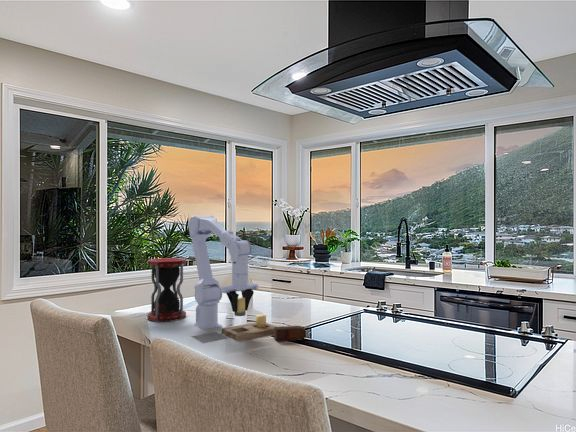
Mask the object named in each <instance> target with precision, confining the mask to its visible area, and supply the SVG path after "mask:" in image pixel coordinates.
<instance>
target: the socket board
mask: <svg viewBox="0 0 576 432" xmlns="http://www.w3.org/2000/svg"><path fill="white" fill-rule="evenodd" d="M275 327H278V326H276V325H274V324H271V323H269V322H266V328H260V329H258V328H256V321H255V322H251V323H244V324H238V325H232V326H228V327H222V328H221V334H222V335H224V336H226V337H228V338H231V339H233V340H235V341H238V342H239V341H243V340H249V339H254V338H258V337H264V336H269V335H273V336H274V328H275Z"/></svg>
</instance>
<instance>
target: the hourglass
mask: <svg viewBox="0 0 576 432" xmlns="http://www.w3.org/2000/svg"><path fill="white" fill-rule="evenodd" d="M185 264H187V259H186V258H183V257H182V258H180V257H163V258H161V257H160V258H149V259H147V265H150V266H151V282H152V284H153V286H154V289H153V292H152V293H151V297H150V298H151V300H150V305H151V306H150V307H151V309H150V310H151V311H150V312H149V313H147V315H146V319H147V320H148V321H152V322H156V323H157V322H172V321H173V322H174V321H179V320H180V321H181V320H182V319H184V318H186V317H187V311H185V310H184V297H183V294H182V293H181V285H182V284H183V282H184V265H185ZM178 279H179V280H180V281H179V282H178V284H177V281H178ZM162 287H163V289H162ZM171 287H172V290H171ZM156 293H157V294H156ZM155 295H156V297H155Z"/></svg>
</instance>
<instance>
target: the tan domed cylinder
mask: <svg viewBox="0 0 576 432" xmlns="http://www.w3.org/2000/svg"><path fill="white" fill-rule="evenodd" d="M255 322H256V328H258V329H260V328H266V323H267V315H266V314H257V315H255Z"/></svg>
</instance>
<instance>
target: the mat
mask: <svg viewBox="0 0 576 432" xmlns="http://www.w3.org/2000/svg"><path fill="white" fill-rule="evenodd" d="M190 337H191V338H193V339H194V340H196V341H198V342H200V343H201V344H205V343H211V342H217V341H221V340H226V339H229V336H227V335H225V334H222V333H219V332H217V331H214V332H208V333H202V334H197V335H191V336H190Z"/></svg>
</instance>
